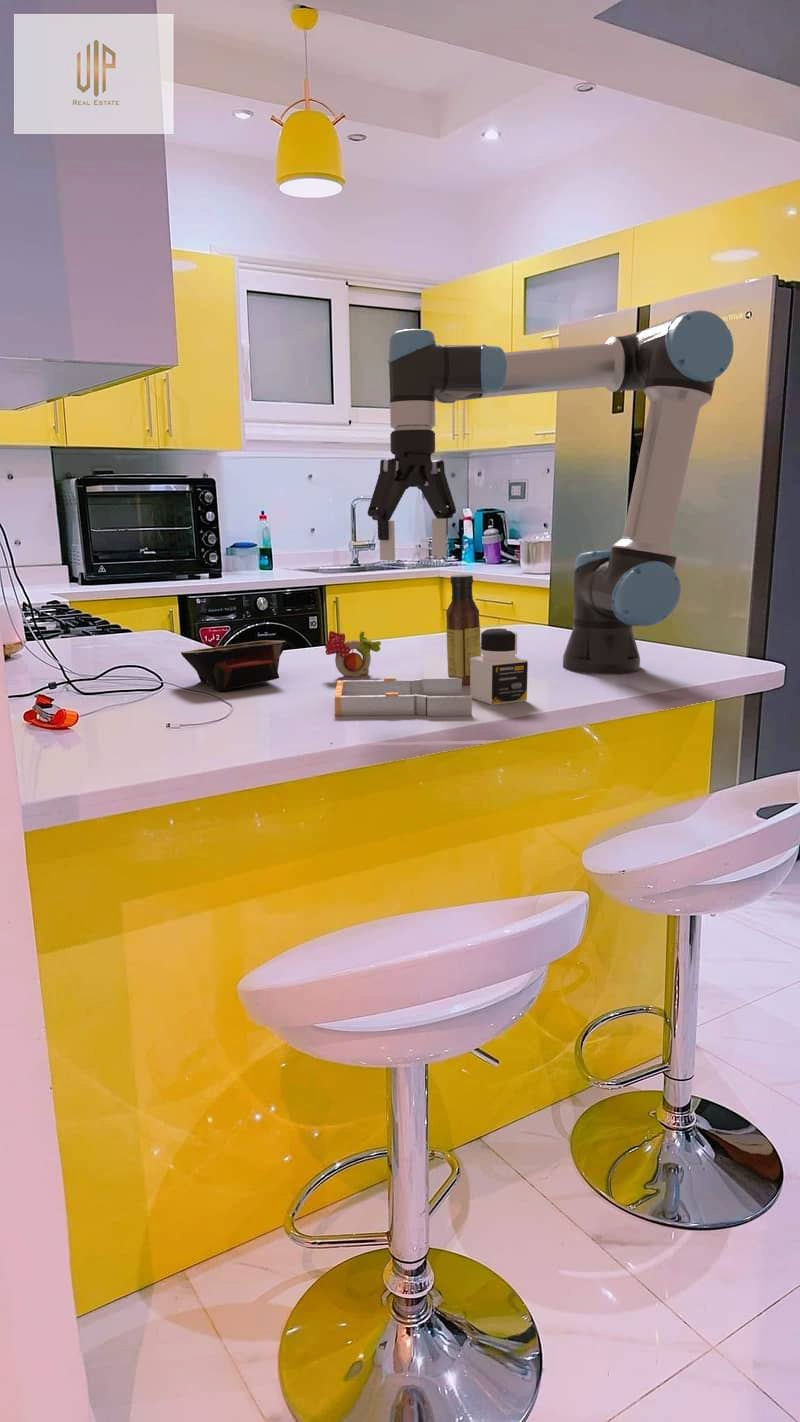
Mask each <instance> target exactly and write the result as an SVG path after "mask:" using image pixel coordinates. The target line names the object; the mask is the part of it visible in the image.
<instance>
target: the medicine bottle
mask: <svg viewBox="0 0 800 1422" xmlns="http://www.w3.org/2000/svg"><path fill="white" fill-rule="evenodd" d="M480 642H481V656H477V657H471V659H470V685H469V696H472V699H473V700H476V701H479V702H480V703H481V702H482V703H485V704H488V705H491V706H496V705H497V706H498V705H505V704H513V703H514V704H515V703H522V702H526V701H527V700H528V669H529V667H528V666H529V664H528V663H529V662H528V661H529V660H528V659H526V658H521V657H517V656H516V655H517V654H518V632H516V631H515V630H513V629H510V628H488V629H485V630H484V631H482V632H480Z"/></svg>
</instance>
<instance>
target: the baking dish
mask: <svg viewBox="0 0 800 1422" xmlns="http://www.w3.org/2000/svg"><path fill="white" fill-rule="evenodd" d="M287 645H288V642H287V641H286V640H257V641H249V642H248V641H247V642H241V643H237V644H228V645H220V646H214V647H213V646H212V647H205V648H198V649H192V650H186V651H181V652H180V654H181V656H182V657H183V658H184V659H185V660H186V661H187V663H188V664H189V665H190V666H191V667H192V668H193V669H194V670H195V671H196V674H197V675H198V678H199V681H200V682H203V683H204V682H205V683H207V684H209V685H210V686H211V688H212V689H214V690H216V691H218V692H221V691H227V690H233V689H238V688H241V687H246V686H247V687H248V686H250V685H256V684H260V683H264V682H269V681H274V680H277V679H280V676H279V675H280V674H279V673H278V670H279V664H280V658H281V655H282V653H283V651H284V650H285V648H286V646H287Z"/></svg>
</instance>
